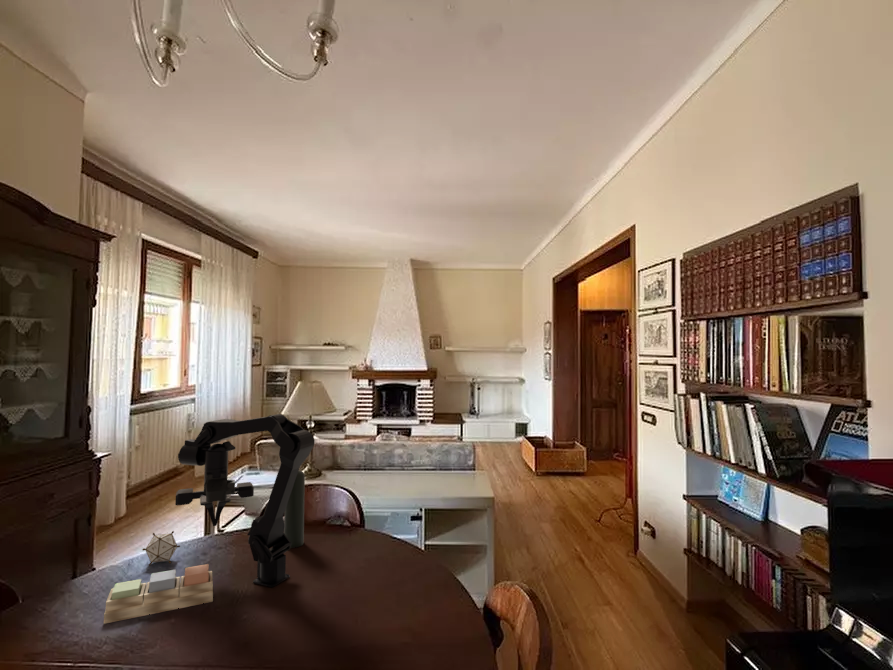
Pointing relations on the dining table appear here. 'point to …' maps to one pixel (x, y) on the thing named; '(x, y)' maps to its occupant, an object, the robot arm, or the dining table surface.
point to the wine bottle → (295, 512)
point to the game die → (161, 548)
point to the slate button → (162, 581)
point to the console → (158, 600)
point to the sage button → (126, 589)
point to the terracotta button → (196, 575)
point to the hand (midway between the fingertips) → (214, 525)
